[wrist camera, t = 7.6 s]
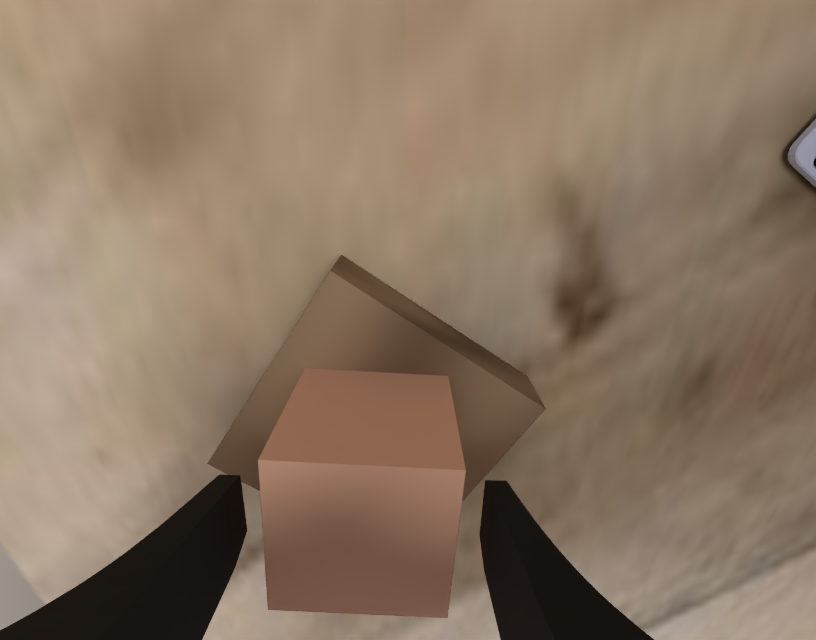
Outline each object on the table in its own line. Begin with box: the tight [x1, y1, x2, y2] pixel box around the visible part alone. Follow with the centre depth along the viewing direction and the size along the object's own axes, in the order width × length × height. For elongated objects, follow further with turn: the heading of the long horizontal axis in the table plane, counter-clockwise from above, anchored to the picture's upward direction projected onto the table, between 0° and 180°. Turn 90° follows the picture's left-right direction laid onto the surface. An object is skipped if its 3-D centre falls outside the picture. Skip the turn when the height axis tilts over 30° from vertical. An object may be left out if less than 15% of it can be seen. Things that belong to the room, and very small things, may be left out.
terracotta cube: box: [258, 368, 466, 618], centre depth 14 cm, size 5×5×5 cm
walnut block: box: [208, 255, 545, 501], centre depth 18 cm, size 9×9×3 cm
